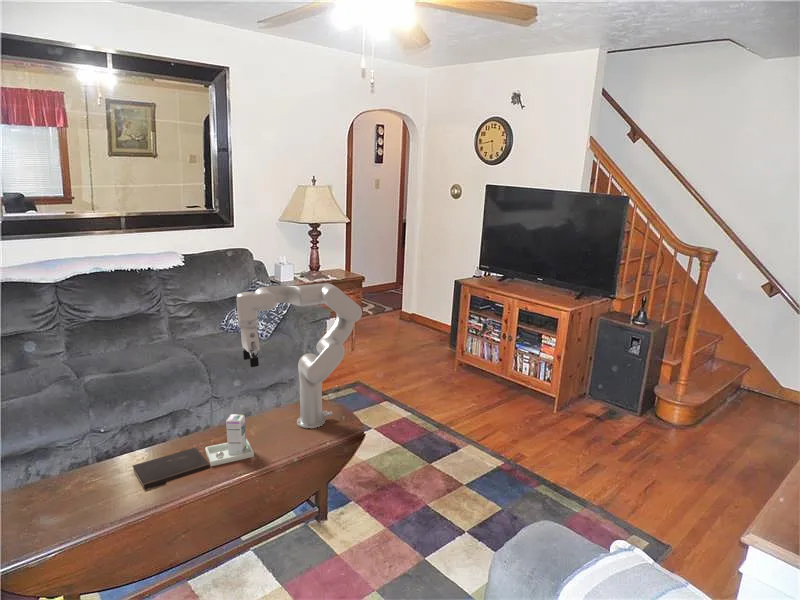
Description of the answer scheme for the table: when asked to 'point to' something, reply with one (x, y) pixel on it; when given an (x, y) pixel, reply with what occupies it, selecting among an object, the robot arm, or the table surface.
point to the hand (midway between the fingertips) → (251, 362)
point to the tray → (226, 454)
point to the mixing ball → (219, 455)
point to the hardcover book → (170, 467)
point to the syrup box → (236, 434)
